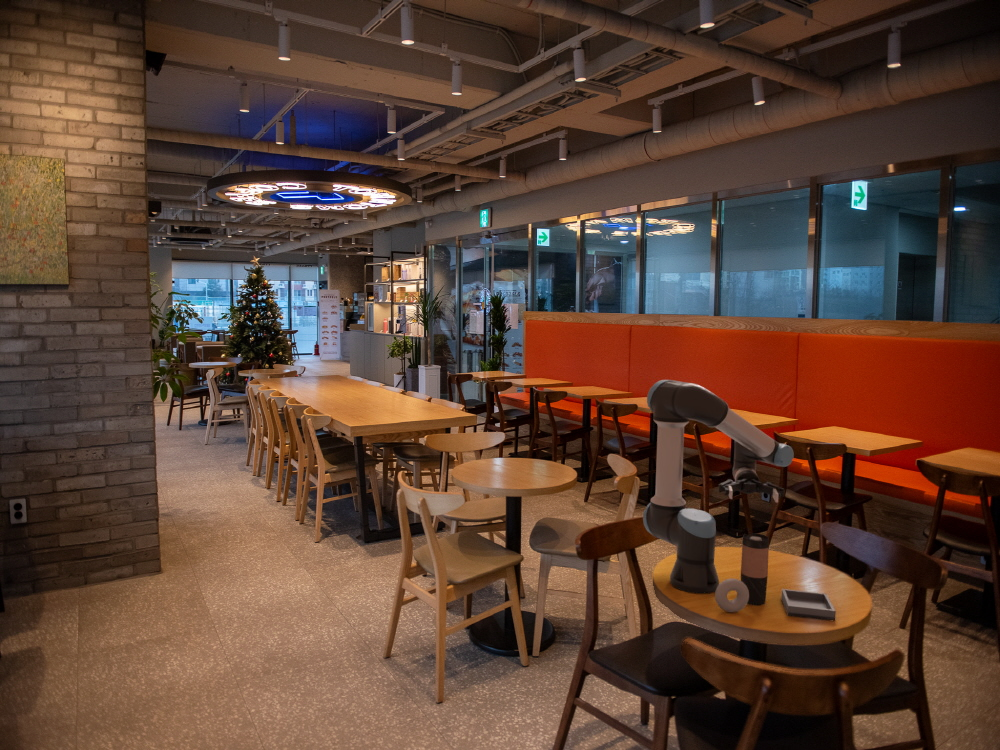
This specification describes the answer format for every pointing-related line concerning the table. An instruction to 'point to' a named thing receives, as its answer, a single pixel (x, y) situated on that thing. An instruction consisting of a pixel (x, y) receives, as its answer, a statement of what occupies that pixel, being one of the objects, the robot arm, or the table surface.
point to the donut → (725, 589)
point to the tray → (808, 604)
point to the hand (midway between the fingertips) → (753, 496)
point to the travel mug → (755, 567)
